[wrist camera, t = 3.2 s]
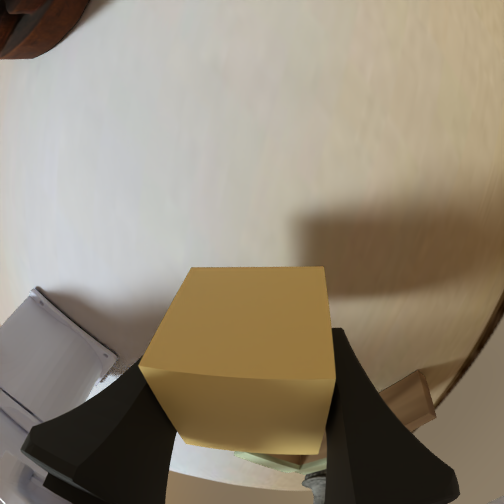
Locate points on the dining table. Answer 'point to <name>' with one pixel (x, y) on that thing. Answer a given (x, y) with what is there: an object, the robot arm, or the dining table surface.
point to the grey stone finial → (316, 485)
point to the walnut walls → (398, 400)
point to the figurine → (35, 25)
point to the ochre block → (246, 359)
